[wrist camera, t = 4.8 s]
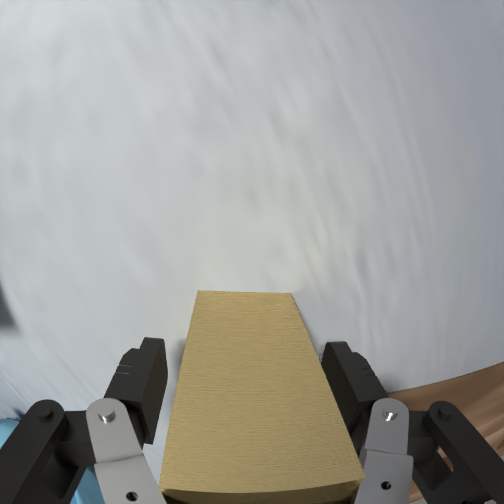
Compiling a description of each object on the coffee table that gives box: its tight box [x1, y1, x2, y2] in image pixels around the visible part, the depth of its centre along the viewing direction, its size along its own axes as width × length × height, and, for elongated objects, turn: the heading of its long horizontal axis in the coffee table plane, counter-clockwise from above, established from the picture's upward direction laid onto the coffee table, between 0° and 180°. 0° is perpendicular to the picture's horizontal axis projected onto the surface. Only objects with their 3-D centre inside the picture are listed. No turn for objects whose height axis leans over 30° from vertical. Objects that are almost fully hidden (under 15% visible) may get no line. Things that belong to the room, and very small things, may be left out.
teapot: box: [0, 418, 105, 504], centre depth 11 cm, size 13×14×11 cm
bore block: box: [387, 362, 504, 503], centre depth 15 cm, size 10×22×5 cm, turn 86°
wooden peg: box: [159, 290, 366, 504], centre depth 9 cm, size 4×4×9 cm
